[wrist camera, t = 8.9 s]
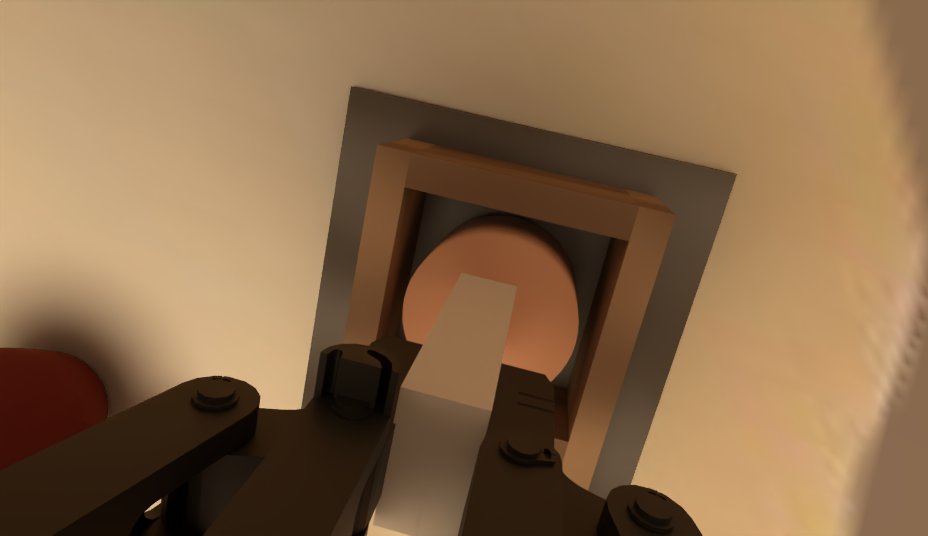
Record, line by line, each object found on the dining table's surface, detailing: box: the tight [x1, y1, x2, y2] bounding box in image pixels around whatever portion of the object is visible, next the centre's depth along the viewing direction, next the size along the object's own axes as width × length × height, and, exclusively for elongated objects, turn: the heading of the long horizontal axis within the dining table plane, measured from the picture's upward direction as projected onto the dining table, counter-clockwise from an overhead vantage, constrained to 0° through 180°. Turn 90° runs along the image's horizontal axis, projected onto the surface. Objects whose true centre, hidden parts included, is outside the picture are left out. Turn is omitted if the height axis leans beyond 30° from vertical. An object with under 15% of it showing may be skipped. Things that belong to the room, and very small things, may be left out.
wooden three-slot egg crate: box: [301, 87, 737, 500], centre depth 22 cm, size 26×13×4 cm, turn 168°
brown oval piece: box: [403, 215, 579, 382], centre depth 19 cm, size 5×5×3 cm
